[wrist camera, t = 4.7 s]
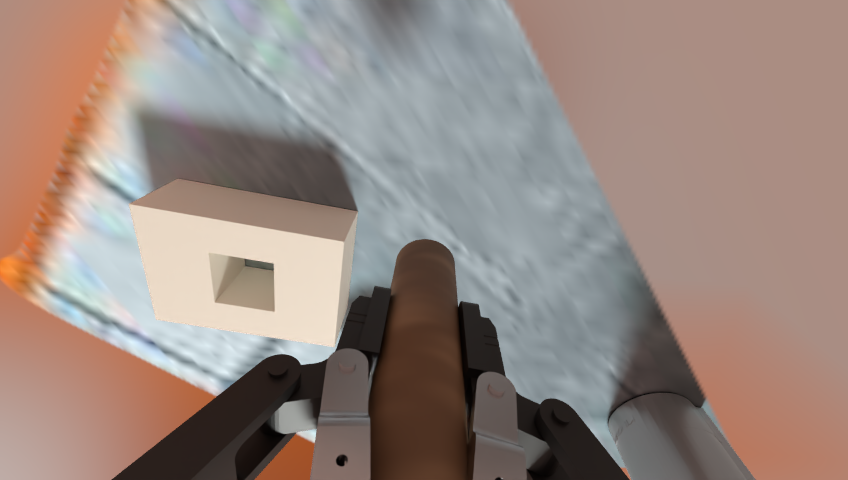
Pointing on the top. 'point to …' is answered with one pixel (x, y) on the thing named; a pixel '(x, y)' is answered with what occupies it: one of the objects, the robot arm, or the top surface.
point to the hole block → (225, 260)
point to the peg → (420, 373)
